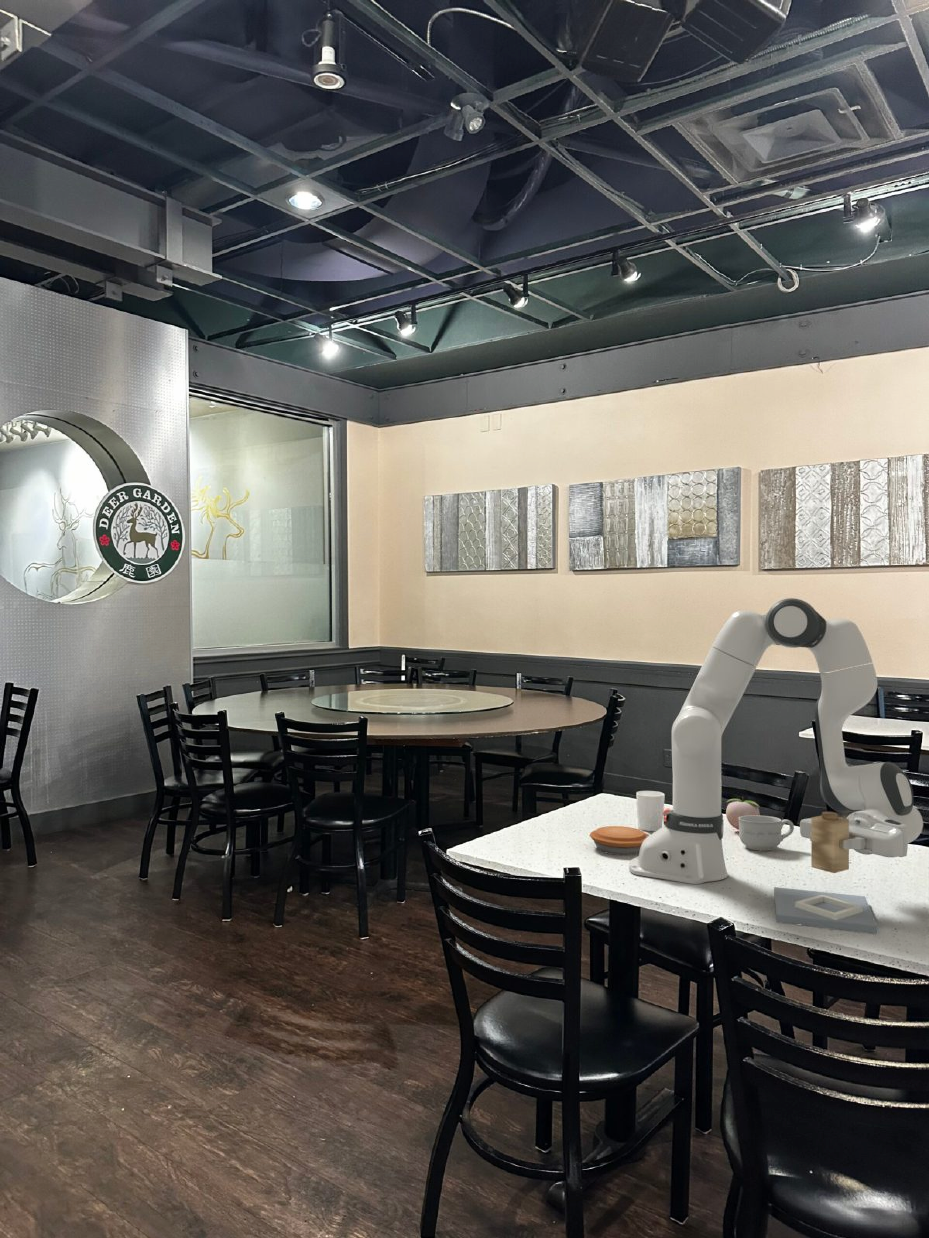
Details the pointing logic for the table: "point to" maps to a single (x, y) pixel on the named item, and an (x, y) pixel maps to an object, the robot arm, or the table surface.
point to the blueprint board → (795, 915)
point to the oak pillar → (829, 842)
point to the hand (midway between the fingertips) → (827, 841)
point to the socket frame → (808, 903)
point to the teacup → (762, 831)
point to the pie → (618, 839)
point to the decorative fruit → (740, 810)
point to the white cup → (650, 810)
